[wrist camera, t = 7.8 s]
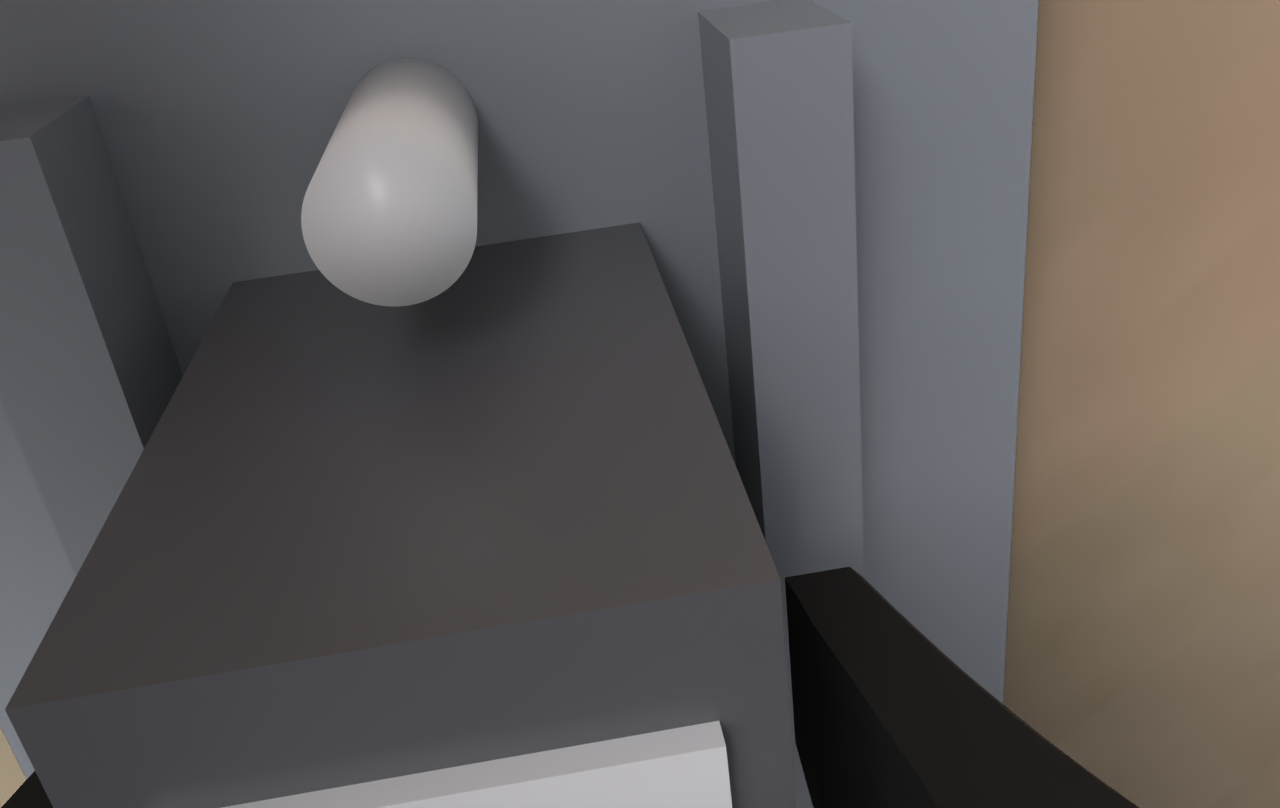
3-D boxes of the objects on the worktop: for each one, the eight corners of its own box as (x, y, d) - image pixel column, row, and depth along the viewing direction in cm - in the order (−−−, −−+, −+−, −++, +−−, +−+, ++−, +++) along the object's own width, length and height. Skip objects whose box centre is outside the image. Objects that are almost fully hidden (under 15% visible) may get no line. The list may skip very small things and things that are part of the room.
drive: (699, 743, 15) (833, 1302, 9) (387, 799, 14) (331, 1405, 9) (640, 221, 11) (791, 604, 6) (232, 282, 11) (-10, 739, 6)
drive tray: (961, 860, 18) (1086, 1130, 14) (195, 1001, 17) (116, 1324, 14) (998, -336, 11) (1280, -420, 7) (-350, -173, 10) (-853, -169, 6)
